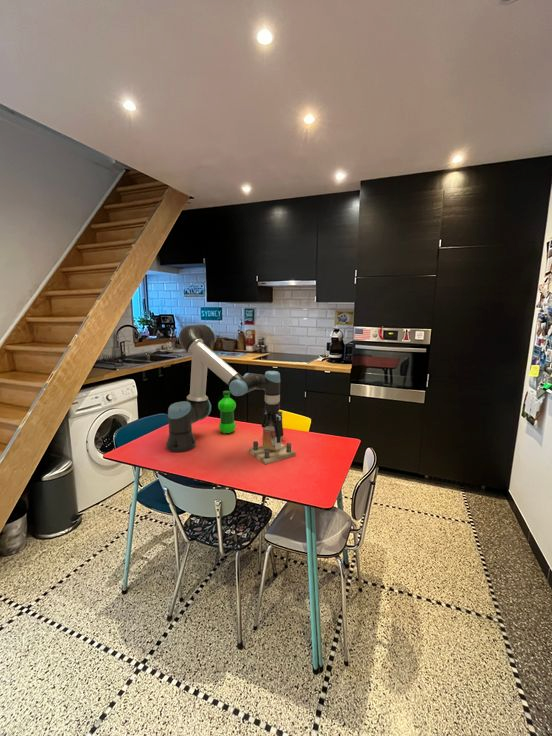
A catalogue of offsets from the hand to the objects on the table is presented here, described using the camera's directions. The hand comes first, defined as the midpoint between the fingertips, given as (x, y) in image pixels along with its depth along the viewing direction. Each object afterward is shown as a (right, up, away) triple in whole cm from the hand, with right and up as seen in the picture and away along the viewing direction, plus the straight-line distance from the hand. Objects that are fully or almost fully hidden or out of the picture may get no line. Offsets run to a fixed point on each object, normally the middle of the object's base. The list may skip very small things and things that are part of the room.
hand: (271, 444), depth 171 cm
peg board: (0, -5, +1) cm, 5 cm away
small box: (0, -2, 0) cm, 2 cm away
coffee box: (+1, -2, +19) cm, 19 cm away
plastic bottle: (-27, 0, +30) cm, 41 cm away
